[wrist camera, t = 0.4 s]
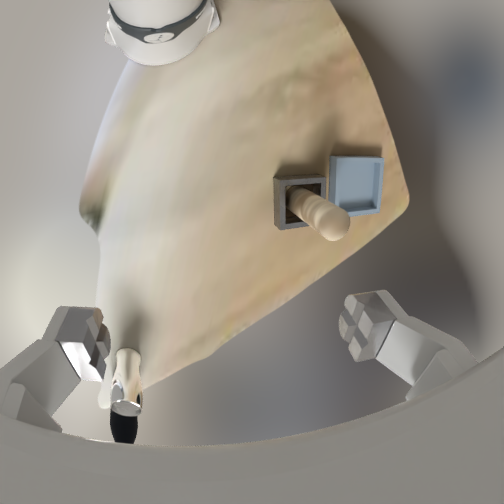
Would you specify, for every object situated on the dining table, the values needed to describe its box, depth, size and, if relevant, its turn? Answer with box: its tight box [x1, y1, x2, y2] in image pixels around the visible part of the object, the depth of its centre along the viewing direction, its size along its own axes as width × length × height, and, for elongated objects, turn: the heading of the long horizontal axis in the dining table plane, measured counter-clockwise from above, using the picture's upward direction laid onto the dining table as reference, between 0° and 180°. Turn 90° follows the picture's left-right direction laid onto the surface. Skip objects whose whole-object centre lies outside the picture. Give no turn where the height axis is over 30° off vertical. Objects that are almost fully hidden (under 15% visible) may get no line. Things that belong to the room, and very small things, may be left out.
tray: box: [328, 156, 384, 217], centre depth 51 cm, size 12×12×2 cm
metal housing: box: [273, 174, 326, 230], centre depth 49 cm, size 9×9×3 cm
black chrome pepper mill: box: [110, 375, 138, 444], centre depth 45 cm, size 6×6×30 cm
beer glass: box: [110, 348, 143, 417], centre depth 49 cm, size 7×7×15 cm
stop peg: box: [285, 186, 350, 241], centre depth 44 cm, size 5×5×14 cm
